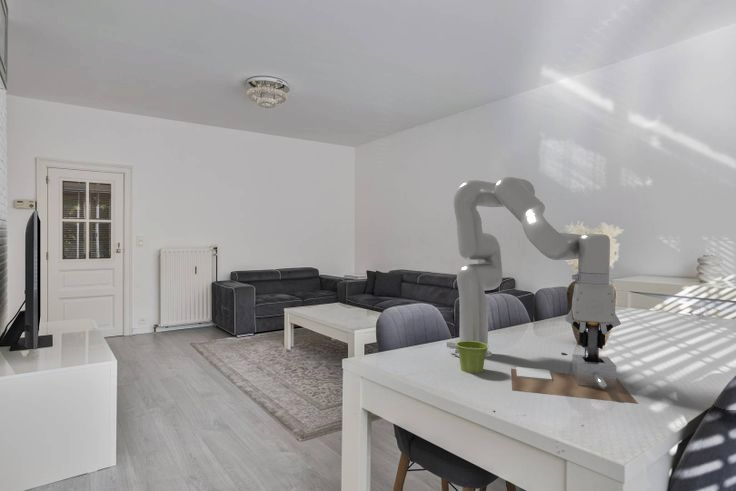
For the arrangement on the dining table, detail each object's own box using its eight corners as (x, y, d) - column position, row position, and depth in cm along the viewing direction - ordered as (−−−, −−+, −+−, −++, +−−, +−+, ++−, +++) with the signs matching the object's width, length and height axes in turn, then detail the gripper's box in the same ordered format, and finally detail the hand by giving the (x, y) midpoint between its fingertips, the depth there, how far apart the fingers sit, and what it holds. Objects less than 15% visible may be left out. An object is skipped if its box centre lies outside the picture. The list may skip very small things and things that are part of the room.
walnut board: (512, 395, 107) (512, 390, 107) (510, 372, 126) (510, 368, 126) (638, 408, 99) (638, 403, 99) (616, 382, 118) (616, 378, 118)
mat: (517, 377, 118) (517, 375, 118) (516, 368, 126) (516, 366, 126) (552, 380, 115) (552, 378, 115) (548, 371, 124) (548, 369, 124)
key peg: (585, 363, 114) (586, 319, 113) (583, 360, 117) (584, 317, 117) (599, 365, 112) (600, 320, 112) (597, 361, 116) (598, 318, 116)
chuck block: (582, 395, 104) (583, 371, 104) (572, 375, 120) (572, 354, 120) (624, 400, 101) (624, 375, 101) (607, 378, 117) (608, 357, 117)
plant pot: (489, 371, 128) (489, 342, 128) (487, 380, 119) (487, 349, 119) (457, 367, 131) (458, 340, 131) (453, 376, 122) (454, 346, 122)
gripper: (561, 279, 113) (560, 347, 114) (632, 282, 108) (630, 353, 109) (558, 277, 120) (556, 341, 121) (624, 279, 115) (622, 346, 116)
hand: (591, 346), depth 115 cm, fingers closed on key peg, 3 cm apart
